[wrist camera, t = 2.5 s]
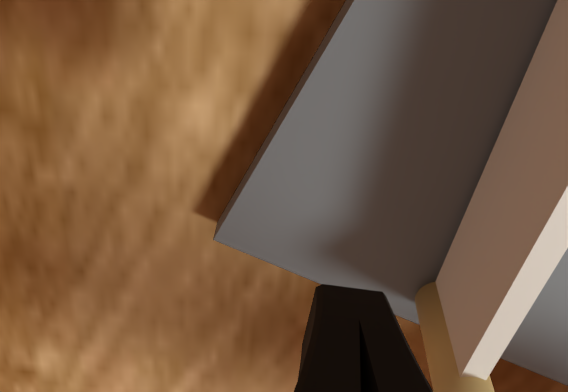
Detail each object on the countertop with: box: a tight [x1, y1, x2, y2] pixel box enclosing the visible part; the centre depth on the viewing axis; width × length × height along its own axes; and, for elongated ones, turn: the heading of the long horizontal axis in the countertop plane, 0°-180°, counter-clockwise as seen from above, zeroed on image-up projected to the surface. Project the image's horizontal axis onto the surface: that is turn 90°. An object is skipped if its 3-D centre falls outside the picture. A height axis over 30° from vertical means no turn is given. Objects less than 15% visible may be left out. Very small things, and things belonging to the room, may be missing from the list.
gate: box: [415, 0, 568, 392], centre depth 14 cm, size 13×2×4 cm, turn 173°
